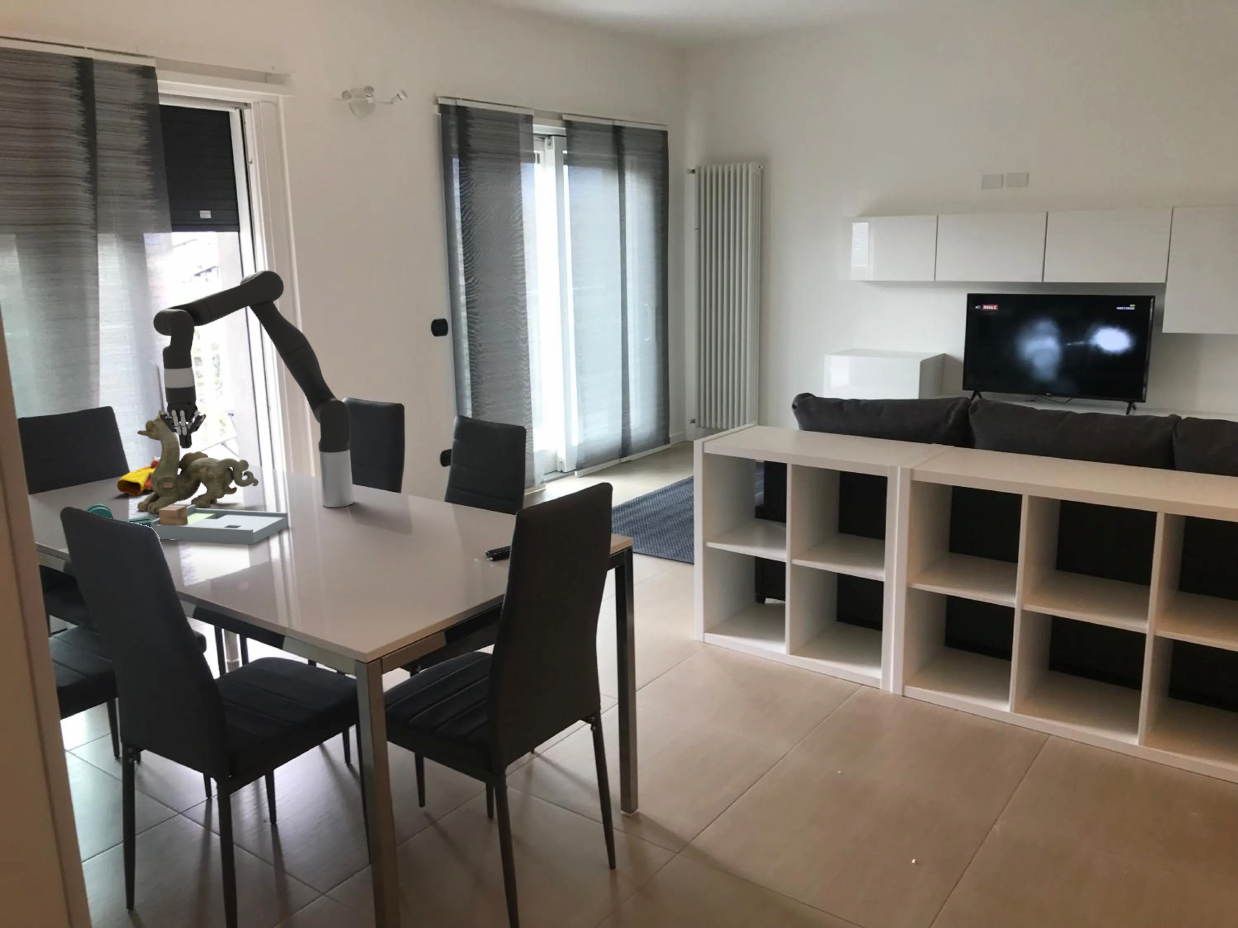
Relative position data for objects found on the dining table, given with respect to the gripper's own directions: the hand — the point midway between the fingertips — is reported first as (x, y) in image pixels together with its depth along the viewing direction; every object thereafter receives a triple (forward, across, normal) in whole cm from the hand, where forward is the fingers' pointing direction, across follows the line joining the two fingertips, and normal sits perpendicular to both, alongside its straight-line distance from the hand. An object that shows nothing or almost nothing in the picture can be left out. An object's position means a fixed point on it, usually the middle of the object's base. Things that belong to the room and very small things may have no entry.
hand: (186, 447), depth 269 cm
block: (+22, +5, +1) cm, 22 cm away
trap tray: (+25, -6, -4) cm, 26 cm away
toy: (+25, +50, -53) cm, 77 cm away
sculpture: (+25, +21, -32) cm, 45 cm away
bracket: (+25, +24, -2) cm, 35 cm away
